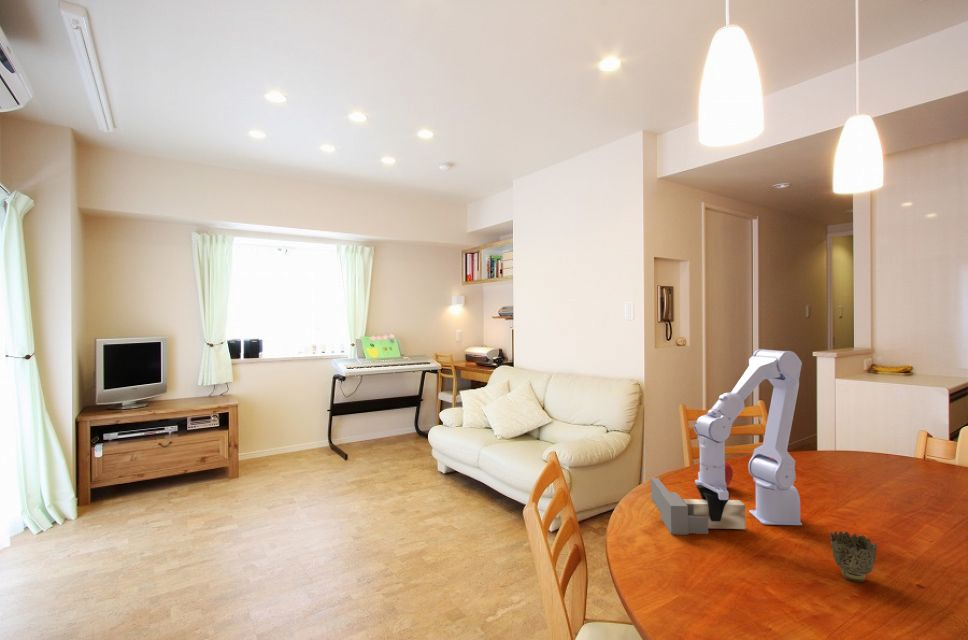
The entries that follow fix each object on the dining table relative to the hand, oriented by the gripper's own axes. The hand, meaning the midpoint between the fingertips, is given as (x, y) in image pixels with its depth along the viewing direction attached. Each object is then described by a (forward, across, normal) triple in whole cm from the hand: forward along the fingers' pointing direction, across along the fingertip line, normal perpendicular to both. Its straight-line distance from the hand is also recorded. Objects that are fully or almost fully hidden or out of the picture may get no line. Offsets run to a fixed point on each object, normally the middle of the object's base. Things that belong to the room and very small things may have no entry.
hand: (712, 517), depth 119 cm
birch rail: (+2, 0, 0) cm, 2 cm away
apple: (+3, -28, +12) cm, 31 cm away
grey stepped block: (+2, -7, -7) cm, 10 cm away
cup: (+3, +22, +19) cm, 29 cm away
